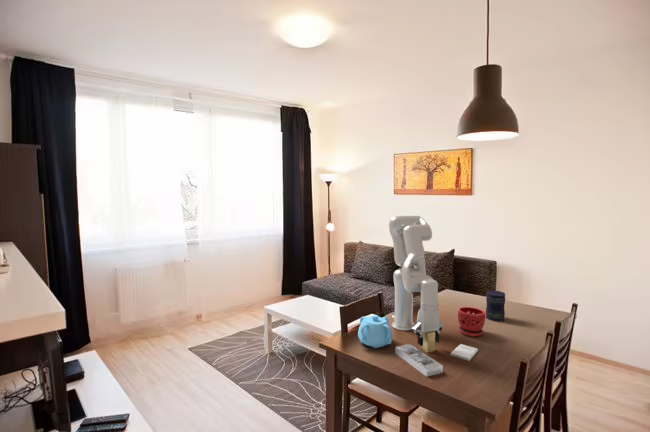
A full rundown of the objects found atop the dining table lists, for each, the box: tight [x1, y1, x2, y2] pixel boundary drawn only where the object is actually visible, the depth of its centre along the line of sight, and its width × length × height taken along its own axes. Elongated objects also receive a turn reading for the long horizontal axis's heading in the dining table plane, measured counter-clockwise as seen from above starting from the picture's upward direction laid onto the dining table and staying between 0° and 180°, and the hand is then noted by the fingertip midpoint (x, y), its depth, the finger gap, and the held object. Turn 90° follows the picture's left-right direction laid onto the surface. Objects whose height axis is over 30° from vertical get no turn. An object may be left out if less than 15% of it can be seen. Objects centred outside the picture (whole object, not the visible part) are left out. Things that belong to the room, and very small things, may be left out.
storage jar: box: [485, 290, 506, 323], centre depth 204 cm, size 10×10×15 cm
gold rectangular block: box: [421, 331, 436, 353], centre depth 165 cm, size 4×4×9 cm
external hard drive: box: [449, 343, 479, 362], centre depth 162 cm, size 2×8×12 cm
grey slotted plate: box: [394, 343, 444, 377], centre depth 154 cm, size 22×8×3 cm, turn 23°
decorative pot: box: [357, 314, 393, 349], centre depth 173 cm, size 16×16×14 cm
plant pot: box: [457, 306, 486, 337], centre depth 184 cm, size 13×13×12 cm
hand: (428, 343), depth 165 cm, fingers open, 8 cm apart
